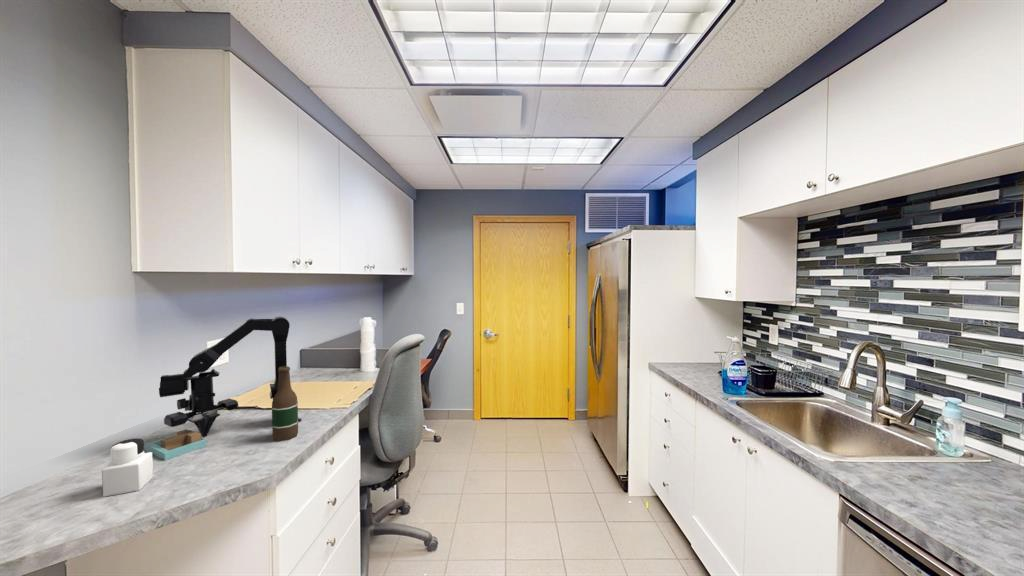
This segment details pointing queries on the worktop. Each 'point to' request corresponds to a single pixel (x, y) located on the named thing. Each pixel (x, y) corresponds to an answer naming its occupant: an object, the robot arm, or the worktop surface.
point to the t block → (180, 439)
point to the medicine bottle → (127, 468)
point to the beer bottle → (284, 408)
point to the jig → (168, 454)
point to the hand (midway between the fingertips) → (204, 436)
